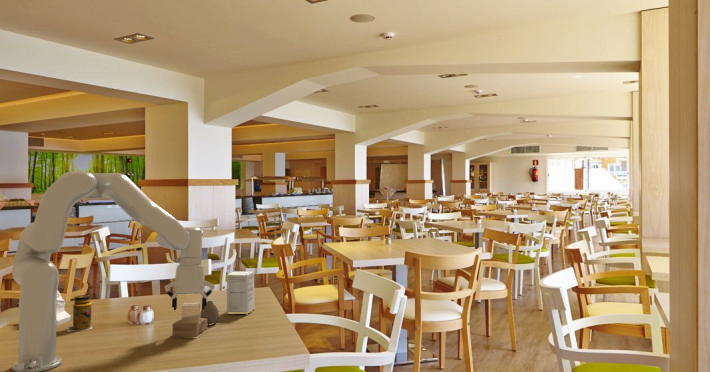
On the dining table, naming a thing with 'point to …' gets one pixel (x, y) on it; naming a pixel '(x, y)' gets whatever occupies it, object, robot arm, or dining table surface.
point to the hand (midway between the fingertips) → (189, 309)
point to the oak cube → (190, 313)
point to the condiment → (81, 314)
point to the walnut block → (189, 328)
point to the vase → (210, 312)
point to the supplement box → (240, 291)
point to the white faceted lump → (61, 310)
